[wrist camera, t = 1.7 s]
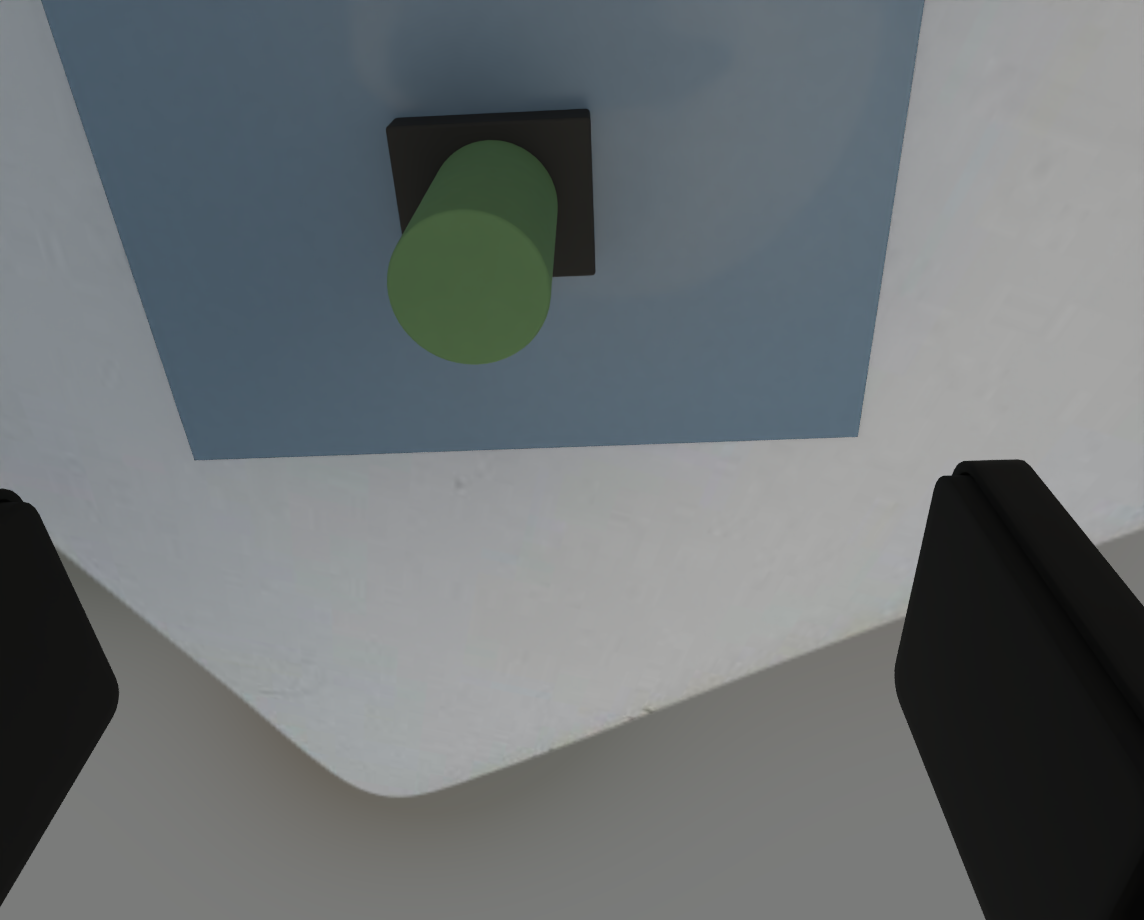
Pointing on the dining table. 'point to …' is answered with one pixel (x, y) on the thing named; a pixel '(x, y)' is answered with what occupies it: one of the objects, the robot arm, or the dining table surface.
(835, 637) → the dining table surface
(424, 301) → the stamp
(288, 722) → the dining table surface
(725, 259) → the napkin
